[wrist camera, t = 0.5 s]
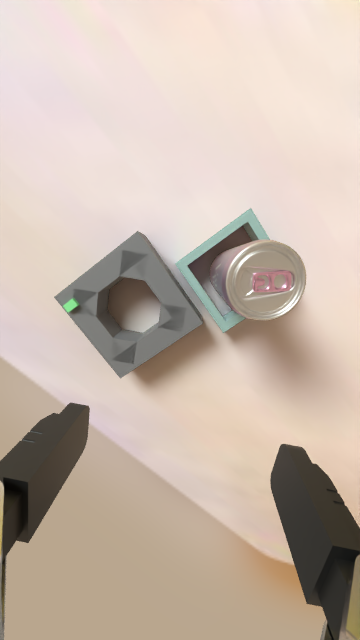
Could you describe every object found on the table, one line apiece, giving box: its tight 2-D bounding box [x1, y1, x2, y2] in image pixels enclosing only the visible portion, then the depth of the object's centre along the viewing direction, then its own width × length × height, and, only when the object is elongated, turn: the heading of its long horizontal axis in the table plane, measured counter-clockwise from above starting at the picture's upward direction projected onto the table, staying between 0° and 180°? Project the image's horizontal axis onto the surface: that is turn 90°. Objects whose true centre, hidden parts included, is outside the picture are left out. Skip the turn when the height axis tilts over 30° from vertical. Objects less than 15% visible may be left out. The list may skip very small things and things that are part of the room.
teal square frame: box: [175, 208, 270, 333], centre depth 30 cm, size 10×10×3 cm
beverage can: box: [210, 239, 306, 321], centre depth 24 cm, size 6×6×15 cm
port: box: [54, 231, 203, 378], centre depth 31 cm, size 13×13×4 cm
